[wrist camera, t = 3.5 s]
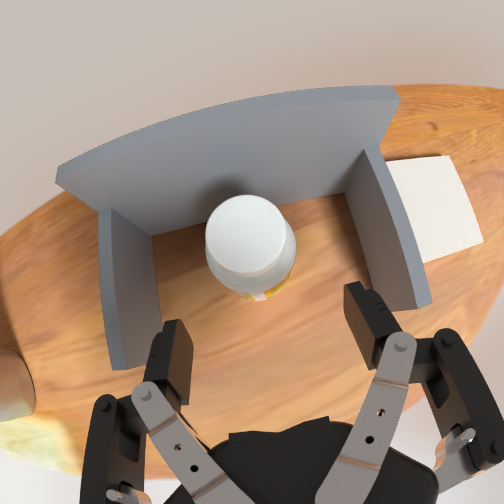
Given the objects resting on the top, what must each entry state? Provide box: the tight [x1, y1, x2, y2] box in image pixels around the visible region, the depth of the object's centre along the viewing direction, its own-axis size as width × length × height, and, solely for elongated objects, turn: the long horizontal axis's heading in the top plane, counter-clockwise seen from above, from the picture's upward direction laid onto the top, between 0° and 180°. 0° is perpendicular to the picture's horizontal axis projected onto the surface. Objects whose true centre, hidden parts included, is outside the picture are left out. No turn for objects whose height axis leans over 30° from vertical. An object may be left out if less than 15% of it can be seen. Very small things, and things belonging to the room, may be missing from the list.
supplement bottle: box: [205, 195, 296, 301], centre depth 18 cm, size 5×5×10 cm
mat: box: [386, 156, 484, 263], centre depth 22 cm, size 10×10×1 cm
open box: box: [55, 86, 432, 370], centre depth 17 cm, size 20×12×12 cm, turn 102°
